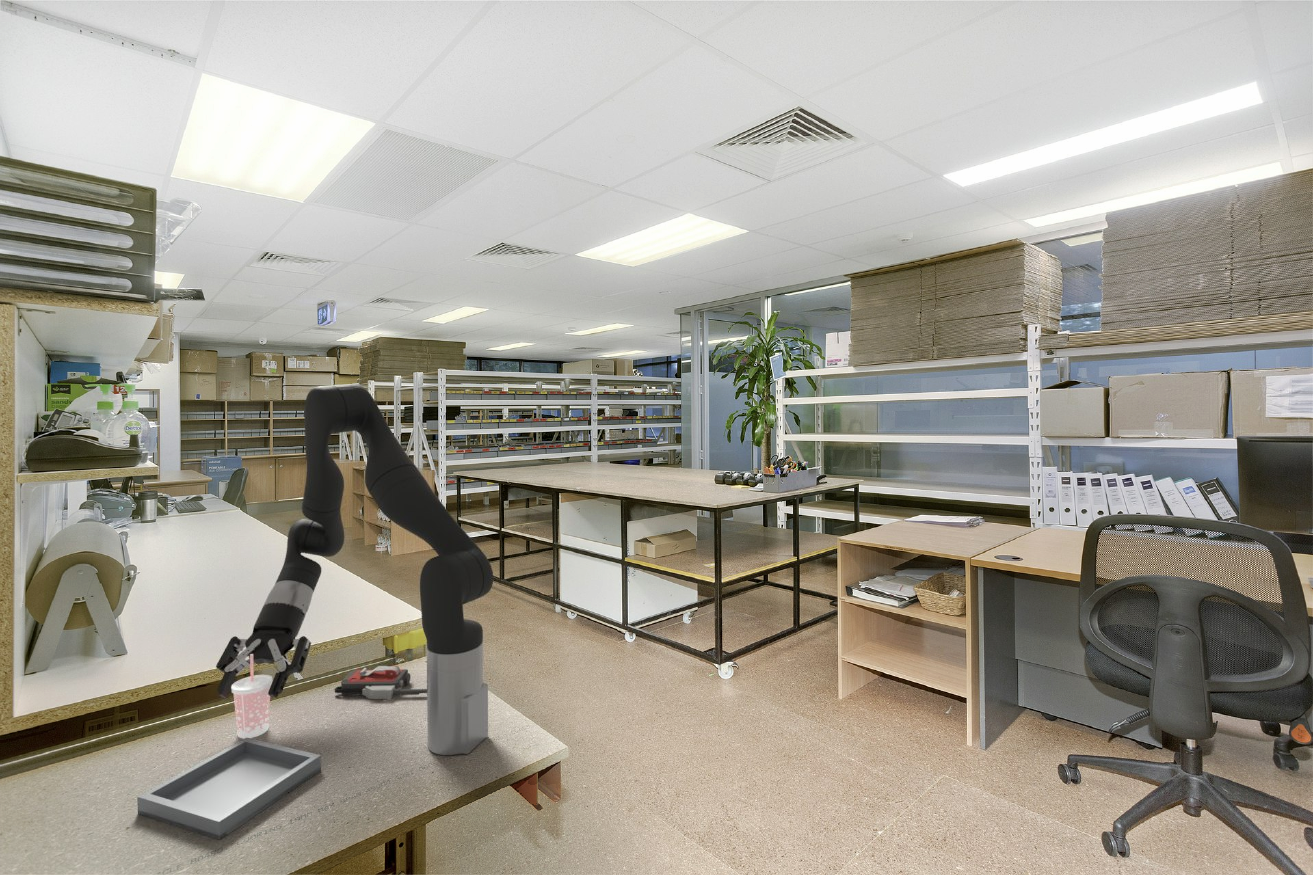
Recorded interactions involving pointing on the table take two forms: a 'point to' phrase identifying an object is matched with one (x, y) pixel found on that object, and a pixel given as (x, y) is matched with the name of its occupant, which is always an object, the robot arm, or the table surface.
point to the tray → (229, 787)
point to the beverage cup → (252, 703)
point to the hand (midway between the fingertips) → (247, 696)
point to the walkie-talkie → (377, 683)
